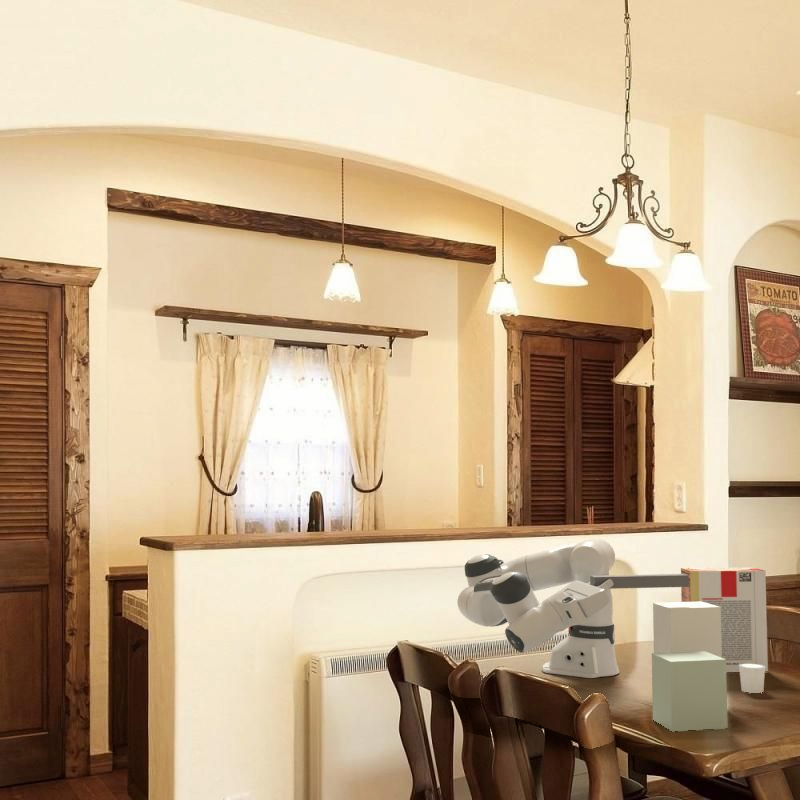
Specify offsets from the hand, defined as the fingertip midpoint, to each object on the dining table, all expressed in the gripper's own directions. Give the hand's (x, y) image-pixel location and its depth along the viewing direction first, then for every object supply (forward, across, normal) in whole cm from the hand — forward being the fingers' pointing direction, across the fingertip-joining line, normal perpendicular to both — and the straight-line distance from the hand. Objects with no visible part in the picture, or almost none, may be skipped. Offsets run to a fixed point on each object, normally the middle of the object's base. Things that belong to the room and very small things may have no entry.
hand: (608, 580), depth 247 cm
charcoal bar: (+7, 0, -6) cm, 9 cm away
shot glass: (+23, -8, -50) cm, 55 cm away
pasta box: (+28, -34, -53) cm, 69 cm away
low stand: (-6, +20, -34) cm, 39 cm away
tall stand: (+3, 0, -38) cm, 39 cm away
